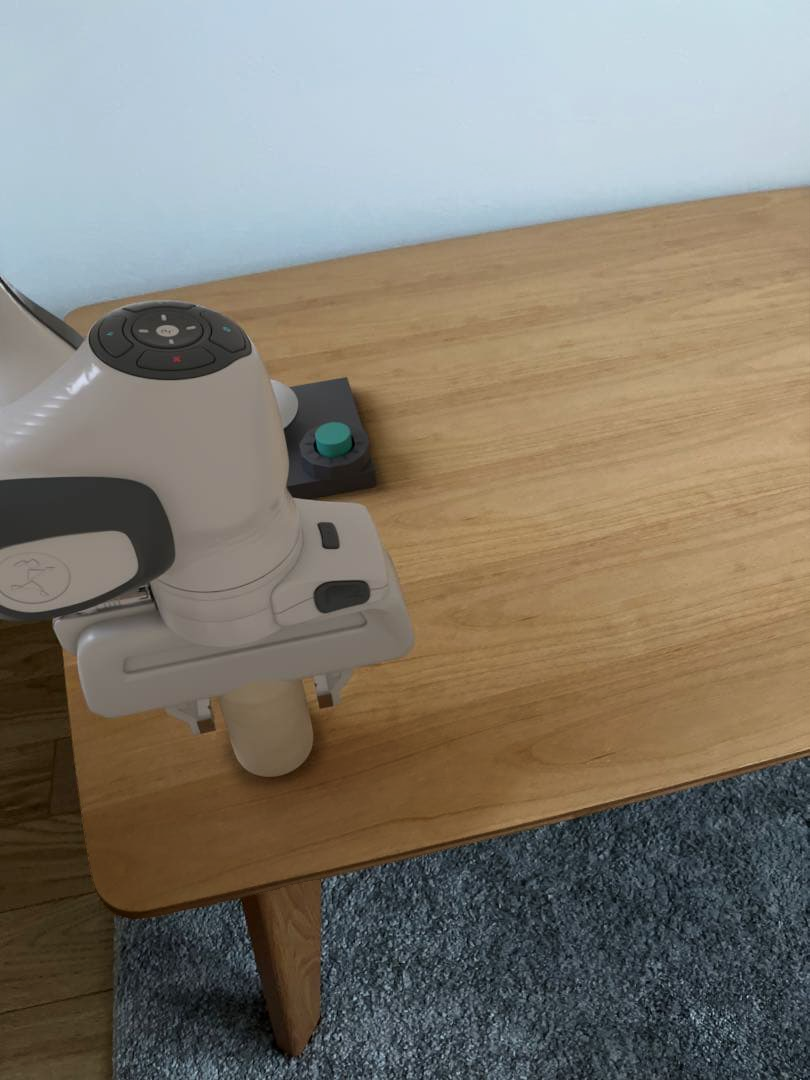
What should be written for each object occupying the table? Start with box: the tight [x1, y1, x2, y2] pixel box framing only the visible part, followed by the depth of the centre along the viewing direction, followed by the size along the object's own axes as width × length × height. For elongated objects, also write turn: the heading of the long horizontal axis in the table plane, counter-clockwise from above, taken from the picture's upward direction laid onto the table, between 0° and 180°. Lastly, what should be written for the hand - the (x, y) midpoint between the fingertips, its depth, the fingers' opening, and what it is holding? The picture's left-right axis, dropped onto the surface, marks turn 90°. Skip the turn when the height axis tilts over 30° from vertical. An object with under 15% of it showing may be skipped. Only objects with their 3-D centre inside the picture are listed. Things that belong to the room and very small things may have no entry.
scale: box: [284, 376, 378, 500], centre depth 90 cm, size 16×14×4 cm
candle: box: [216, 679, 314, 778], centre depth 66 cm, size 6×6×10 cm
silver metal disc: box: [270, 378, 299, 432], centre depth 90 cm, size 10×10×1 cm
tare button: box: [315, 422, 352, 458], centre depth 86 cm, size 3×3×2 cm
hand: (266, 712), depth 67 cm, fingers open, 7 cm apart
